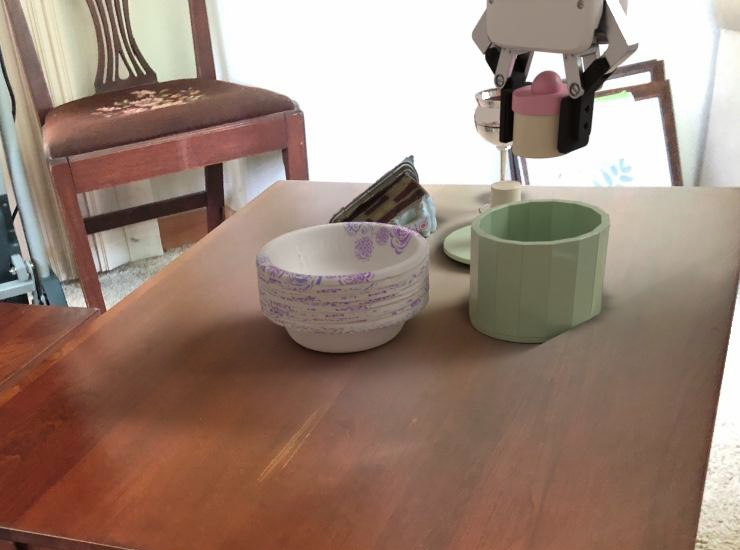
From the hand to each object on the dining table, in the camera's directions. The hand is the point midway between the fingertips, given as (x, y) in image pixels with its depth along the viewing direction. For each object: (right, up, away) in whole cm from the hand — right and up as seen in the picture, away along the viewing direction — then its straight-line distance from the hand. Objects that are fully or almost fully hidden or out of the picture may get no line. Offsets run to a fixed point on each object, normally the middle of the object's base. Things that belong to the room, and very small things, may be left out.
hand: (543, 141), depth 78 cm
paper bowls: (-15, -13, +11) cm, 23 cm away
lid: (+2, 0, +22) cm, 22 cm away
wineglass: (+4, +8, +33) cm, 34 cm away
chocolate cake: (-9, +3, +29) cm, 31 cm away
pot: (+2, -11, +9) cm, 15 cm away
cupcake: (0, -1, 0) cm, 1 cm away
